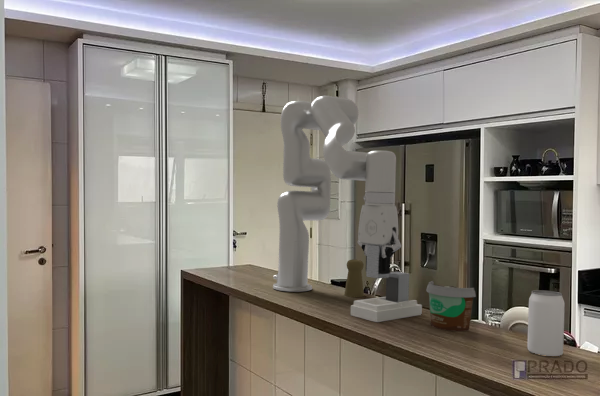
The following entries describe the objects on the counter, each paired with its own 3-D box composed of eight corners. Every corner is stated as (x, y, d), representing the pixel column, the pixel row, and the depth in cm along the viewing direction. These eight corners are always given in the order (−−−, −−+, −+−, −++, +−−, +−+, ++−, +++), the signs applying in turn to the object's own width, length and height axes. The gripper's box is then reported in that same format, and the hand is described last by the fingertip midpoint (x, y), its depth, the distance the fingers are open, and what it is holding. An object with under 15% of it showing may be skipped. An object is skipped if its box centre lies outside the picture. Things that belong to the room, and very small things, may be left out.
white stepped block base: (350, 315, 134) (351, 273, 135) (395, 308, 145) (396, 270, 145) (376, 322, 127) (378, 278, 128) (421, 314, 138) (423, 274, 138)
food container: (414, 324, 127) (415, 282, 127) (430, 321, 131) (431, 280, 131) (459, 335, 118) (460, 290, 118) (474, 331, 122) (476, 287, 122)
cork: (363, 297, 160) (364, 261, 160) (343, 296, 161) (344, 260, 161) (364, 294, 166) (365, 259, 166) (345, 293, 167) (346, 258, 167)
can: (567, 353, 106) (569, 293, 106) (557, 359, 101) (559, 296, 101) (533, 346, 110) (535, 288, 110) (522, 352, 105) (524, 292, 105)
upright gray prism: (366, 276, 134) (367, 244, 134) (378, 275, 137) (379, 244, 137) (377, 278, 131) (378, 246, 131) (390, 277, 134) (391, 245, 134)
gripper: (346, 199, 138) (343, 269, 138) (395, 200, 125) (393, 277, 125) (366, 199, 143) (364, 268, 143) (415, 200, 130) (413, 275, 130)
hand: (377, 271), depth 134 cm, fingers closed on upright gray prism, 4 cm apart
